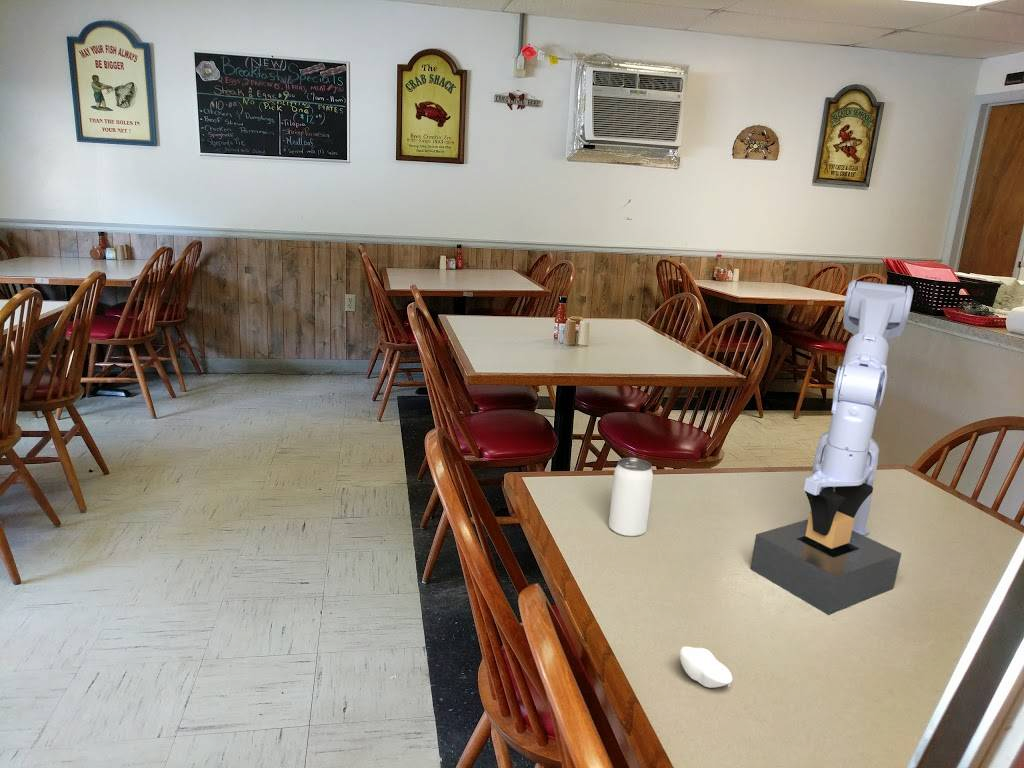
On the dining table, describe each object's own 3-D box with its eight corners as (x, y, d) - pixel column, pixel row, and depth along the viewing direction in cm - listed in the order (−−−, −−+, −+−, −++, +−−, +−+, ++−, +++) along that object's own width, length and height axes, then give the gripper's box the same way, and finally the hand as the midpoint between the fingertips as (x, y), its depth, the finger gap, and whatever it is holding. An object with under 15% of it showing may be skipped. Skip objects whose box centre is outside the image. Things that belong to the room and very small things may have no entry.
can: (645, 540, 121) (654, 473, 118) (606, 534, 122) (614, 468, 119) (646, 523, 127) (654, 459, 124) (609, 518, 128) (616, 454, 125)
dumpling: (666, 675, 87) (670, 647, 86) (689, 658, 91) (693, 630, 90) (718, 706, 83) (722, 676, 81) (740, 686, 86) (745, 658, 85)
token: (823, 530, 114) (828, 506, 113) (849, 542, 110) (854, 518, 109) (805, 535, 111) (809, 512, 110) (831, 548, 108) (836, 524, 107)
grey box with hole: (814, 548, 122) (820, 515, 120) (893, 588, 111) (901, 553, 109) (750, 568, 114) (756, 534, 112) (828, 615, 102) (836, 577, 101)
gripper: (852, 430, 113) (836, 510, 117) (793, 442, 106) (777, 527, 109) (895, 445, 108) (877, 528, 111) (836, 459, 100) (818, 547, 104)
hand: (830, 529), depth 110 cm, fingers open, 5 cm apart
